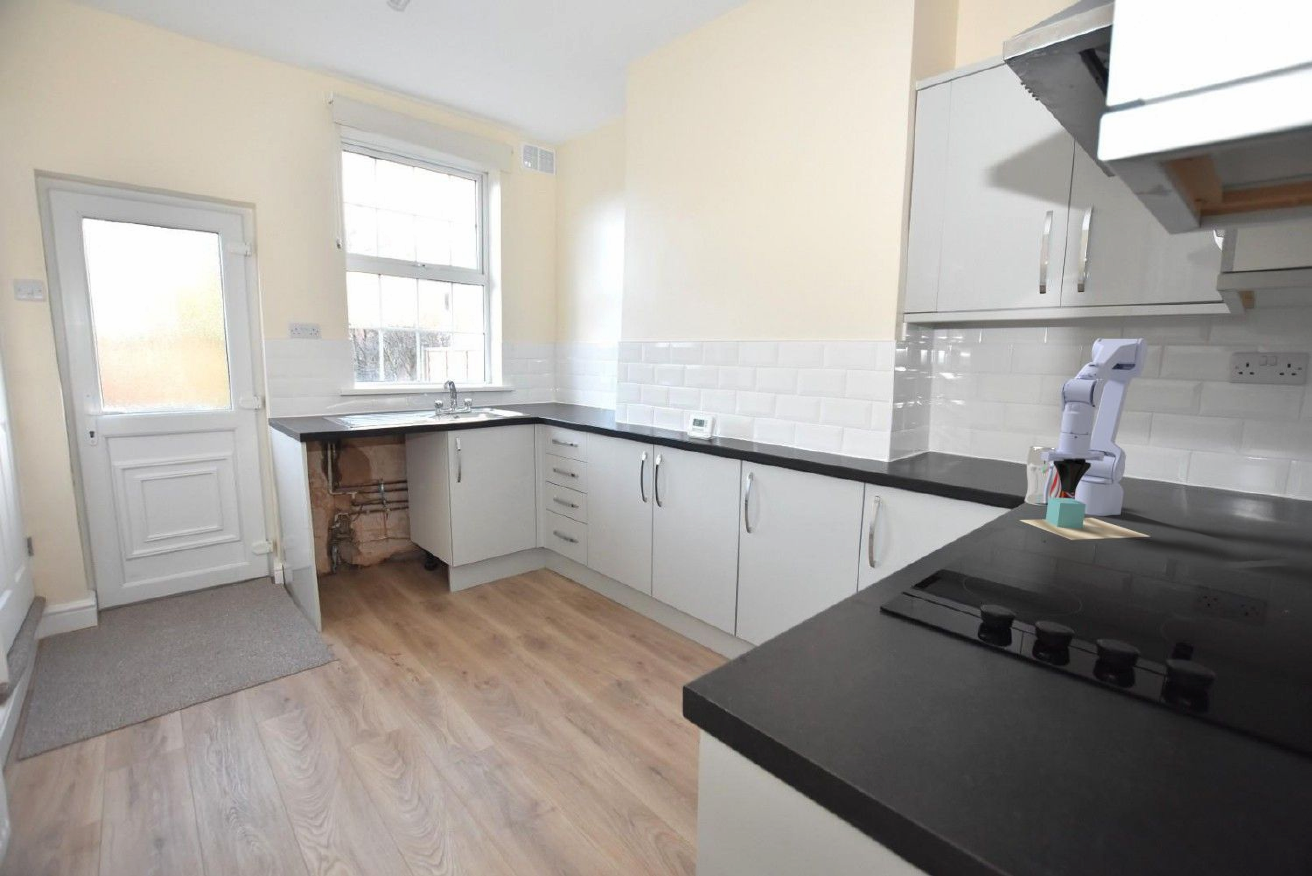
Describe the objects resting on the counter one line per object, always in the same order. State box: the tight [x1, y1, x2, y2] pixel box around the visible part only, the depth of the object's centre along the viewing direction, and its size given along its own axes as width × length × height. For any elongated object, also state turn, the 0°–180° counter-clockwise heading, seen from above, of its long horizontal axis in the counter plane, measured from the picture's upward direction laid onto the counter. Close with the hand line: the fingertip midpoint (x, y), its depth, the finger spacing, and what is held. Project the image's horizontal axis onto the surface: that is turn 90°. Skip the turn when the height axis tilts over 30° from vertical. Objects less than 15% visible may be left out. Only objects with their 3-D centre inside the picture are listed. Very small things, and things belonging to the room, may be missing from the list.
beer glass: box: [1024, 445, 1057, 507], centre depth 156 cm, size 7×7×15 cm
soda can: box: [1051, 457, 1076, 499], centre depth 160 cm, size 6×6×12 cm
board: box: [1019, 517, 1151, 541], centre depth 131 cm, size 20×14×5 cm
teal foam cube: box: [1045, 497, 1086, 529], centre depth 134 cm, size 5×5×6 cm
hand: (1067, 491), depth 133 cm, fingers closed
